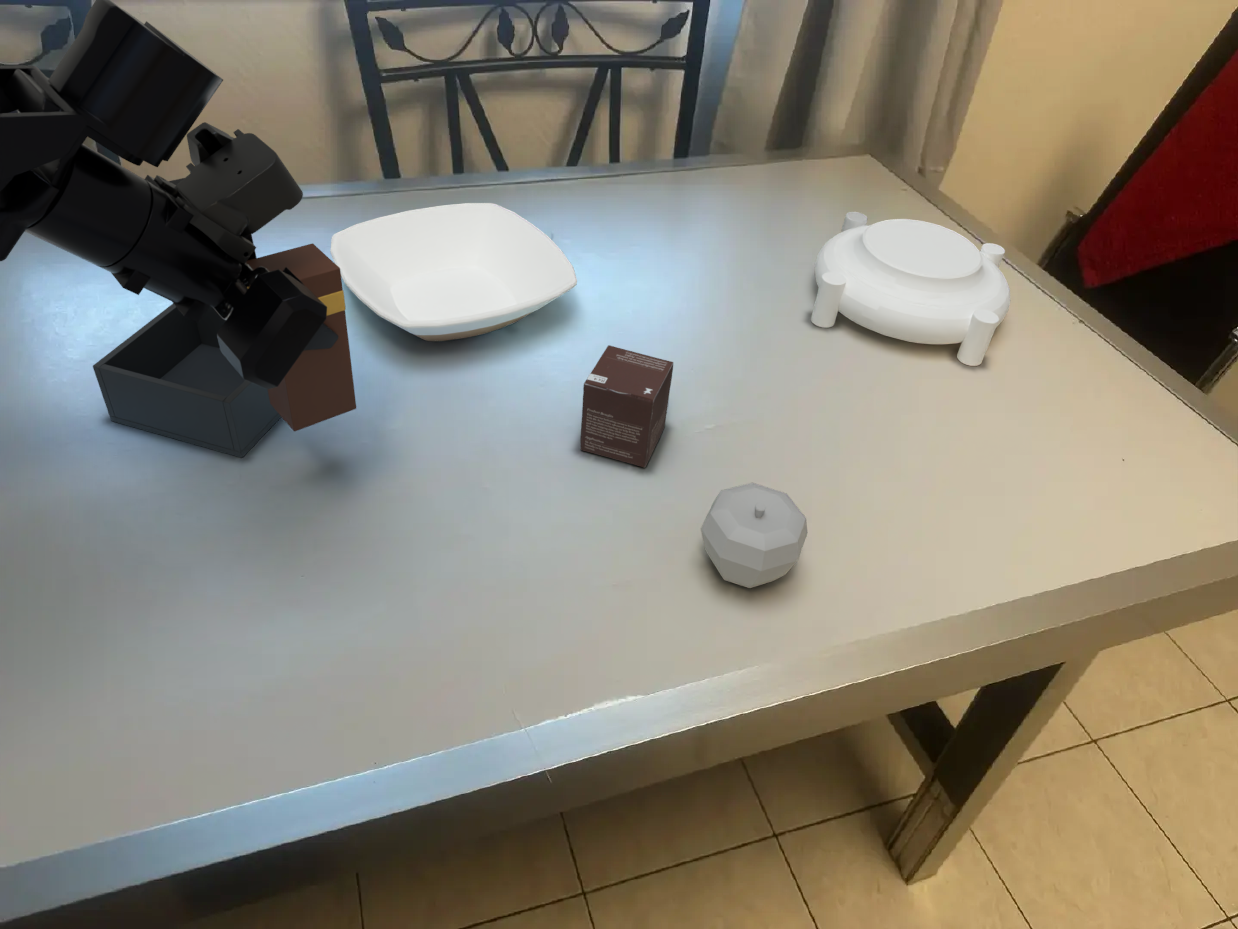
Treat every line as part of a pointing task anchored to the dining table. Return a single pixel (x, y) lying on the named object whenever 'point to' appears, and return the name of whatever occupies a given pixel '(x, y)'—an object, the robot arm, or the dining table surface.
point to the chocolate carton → (320, 374)
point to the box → (625, 405)
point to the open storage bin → (184, 385)
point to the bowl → (452, 268)
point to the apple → (753, 534)
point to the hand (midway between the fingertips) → (319, 327)
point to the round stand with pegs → (912, 284)
